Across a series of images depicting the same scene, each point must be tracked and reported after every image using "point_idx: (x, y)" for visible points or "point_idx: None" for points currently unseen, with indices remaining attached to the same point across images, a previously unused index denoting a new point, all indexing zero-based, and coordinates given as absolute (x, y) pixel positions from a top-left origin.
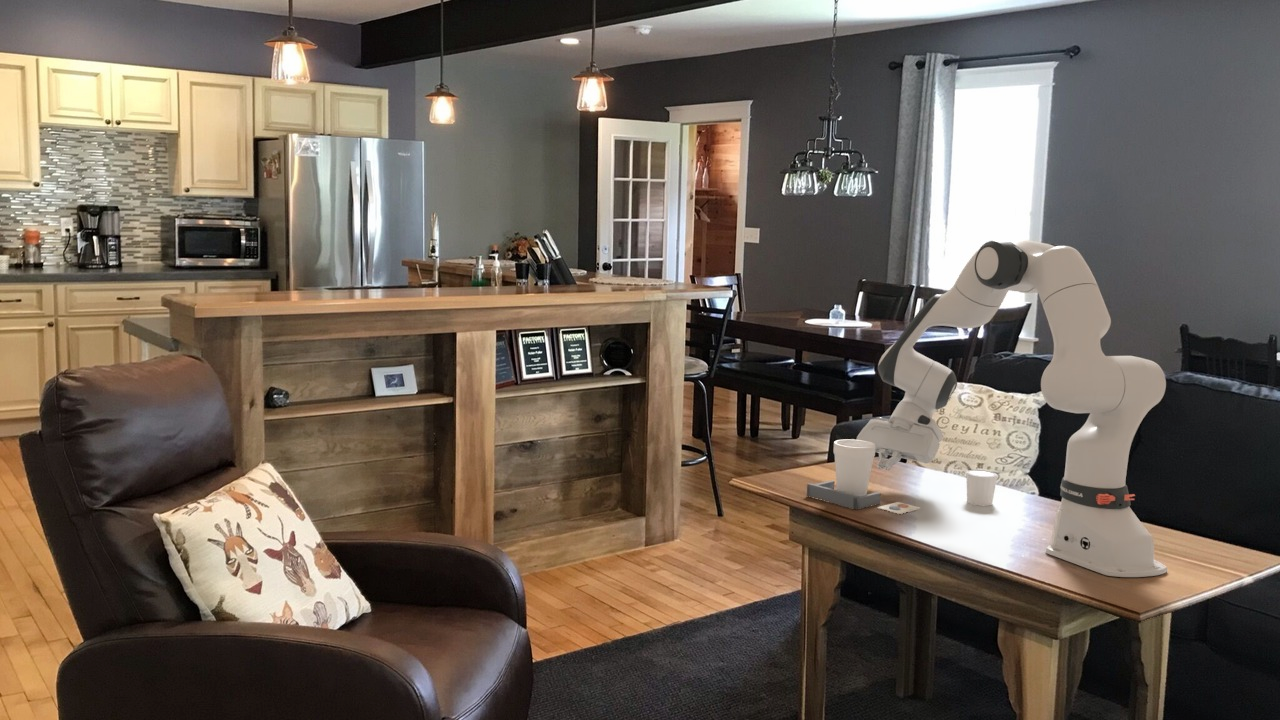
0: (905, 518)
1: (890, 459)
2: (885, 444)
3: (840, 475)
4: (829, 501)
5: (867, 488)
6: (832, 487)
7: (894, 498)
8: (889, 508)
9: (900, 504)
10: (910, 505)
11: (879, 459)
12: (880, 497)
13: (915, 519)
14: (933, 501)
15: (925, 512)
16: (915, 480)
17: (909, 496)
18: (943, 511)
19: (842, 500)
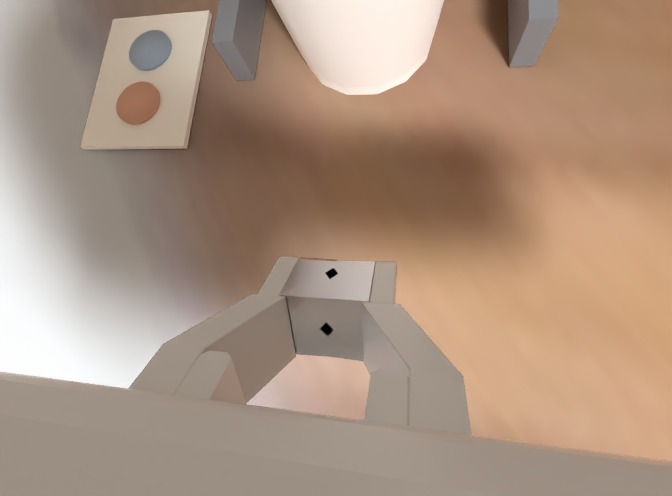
0: (89, 6)
1: (246, 301)
2: (364, 471)
3: None
4: None
5: (281, 18)
6: (517, 34)
7: (232, 208)
8: (167, 36)
9: (150, 106)
10: (121, 140)
11: (385, 292)
12: (223, 58)
13: (59, 25)
14: (78, 312)
15: (57, 125)
16: None
17: (195, 305)
18: (7, 195)
19: None
